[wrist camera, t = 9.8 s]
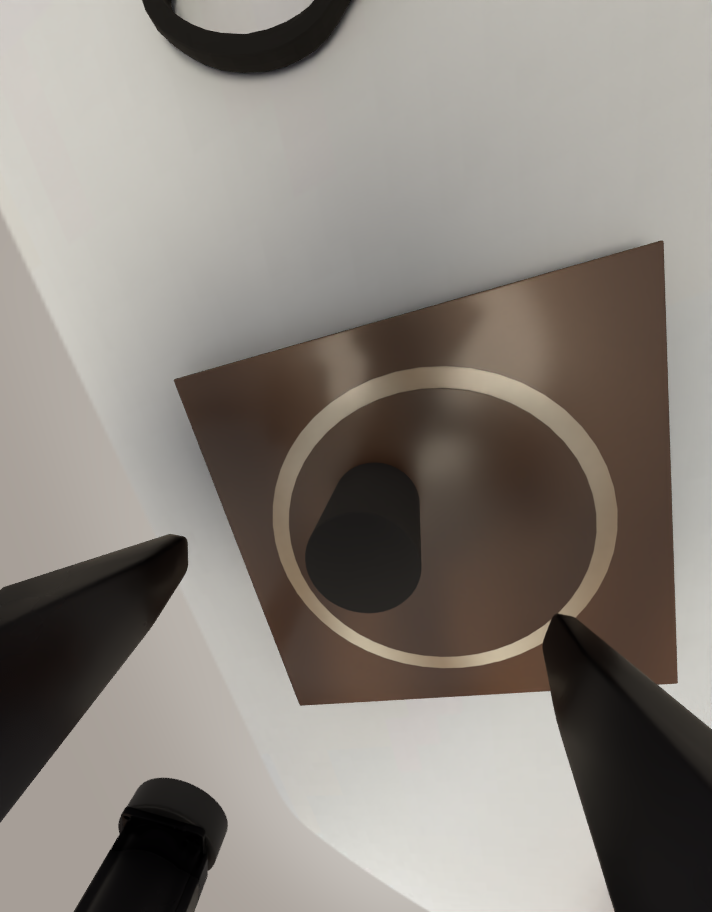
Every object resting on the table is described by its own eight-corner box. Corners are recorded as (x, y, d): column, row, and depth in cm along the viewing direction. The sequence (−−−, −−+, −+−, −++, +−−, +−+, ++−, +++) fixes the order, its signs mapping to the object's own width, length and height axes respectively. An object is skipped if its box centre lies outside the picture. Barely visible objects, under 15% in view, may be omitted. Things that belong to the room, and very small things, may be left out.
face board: (305, 687, 19) (298, 710, 18) (188, 376, 15) (169, 380, 14) (662, 662, 16) (681, 688, 14) (643, 247, 11) (668, 237, 10)
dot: (329, 532, 15) (299, 600, 11) (339, 455, 14) (309, 501, 10) (411, 548, 14) (410, 624, 10) (427, 470, 13) (432, 524, 9)
